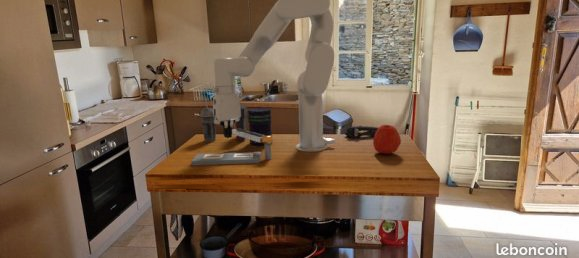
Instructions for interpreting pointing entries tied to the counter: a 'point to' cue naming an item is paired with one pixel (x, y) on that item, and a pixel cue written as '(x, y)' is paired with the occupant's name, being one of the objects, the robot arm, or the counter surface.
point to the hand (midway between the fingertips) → (227, 137)
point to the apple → (386, 139)
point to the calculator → (242, 121)
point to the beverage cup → (208, 124)
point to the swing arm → (252, 136)
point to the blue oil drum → (259, 123)
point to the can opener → (355, 130)
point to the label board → (231, 157)
